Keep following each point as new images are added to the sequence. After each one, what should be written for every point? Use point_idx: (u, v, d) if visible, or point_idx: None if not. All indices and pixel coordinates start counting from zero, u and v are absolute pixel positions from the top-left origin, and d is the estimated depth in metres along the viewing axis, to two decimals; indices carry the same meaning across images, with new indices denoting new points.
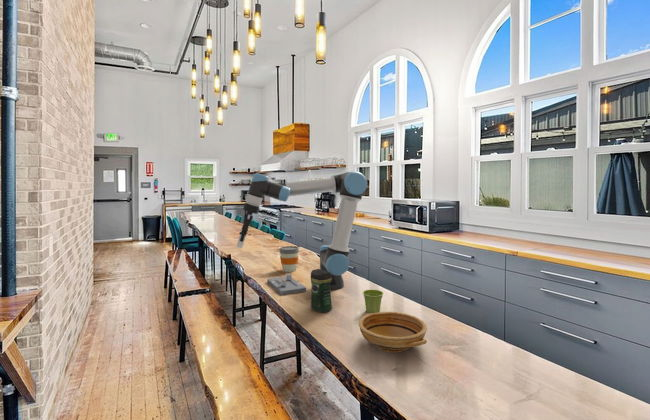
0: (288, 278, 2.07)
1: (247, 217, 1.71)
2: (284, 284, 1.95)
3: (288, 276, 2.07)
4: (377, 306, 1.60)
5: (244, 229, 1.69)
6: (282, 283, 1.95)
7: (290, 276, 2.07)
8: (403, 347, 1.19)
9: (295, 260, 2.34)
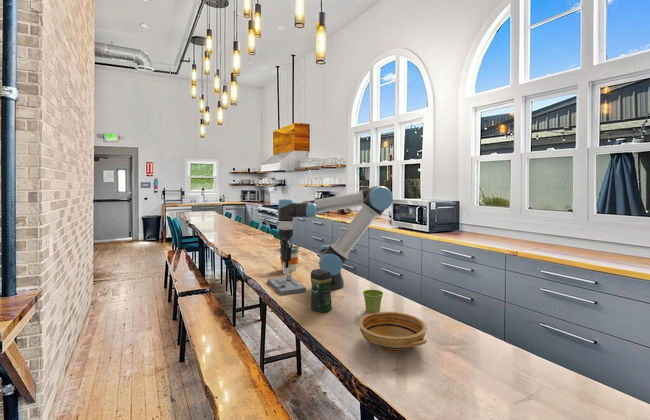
0: (288, 278, 2.07)
1: (288, 247, 1.82)
2: (284, 284, 1.95)
3: (288, 276, 2.07)
4: (377, 306, 1.60)
5: (288, 257, 1.84)
6: (282, 283, 1.95)
7: (290, 276, 2.07)
8: (403, 347, 1.19)
9: (295, 260, 2.34)
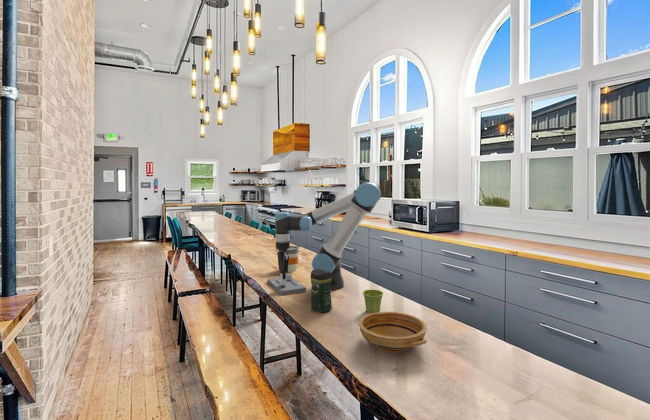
0: (288, 278, 2.07)
1: (285, 259, 1.88)
2: None
3: (288, 276, 2.07)
4: (377, 306, 1.60)
5: (285, 269, 1.90)
6: None
7: (290, 276, 2.07)
8: (403, 347, 1.19)
9: (295, 260, 2.34)
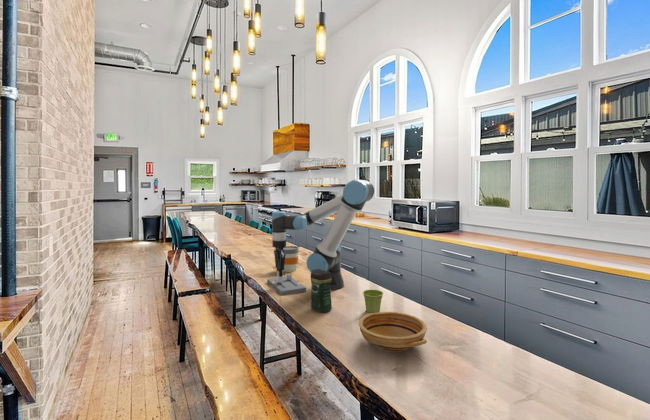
0: (288, 278, 2.07)
1: (282, 257, 1.93)
2: None
3: (288, 276, 2.07)
4: (377, 306, 1.60)
5: (281, 267, 1.95)
6: None
7: (290, 276, 2.07)
8: (403, 347, 1.19)
9: (295, 260, 2.34)
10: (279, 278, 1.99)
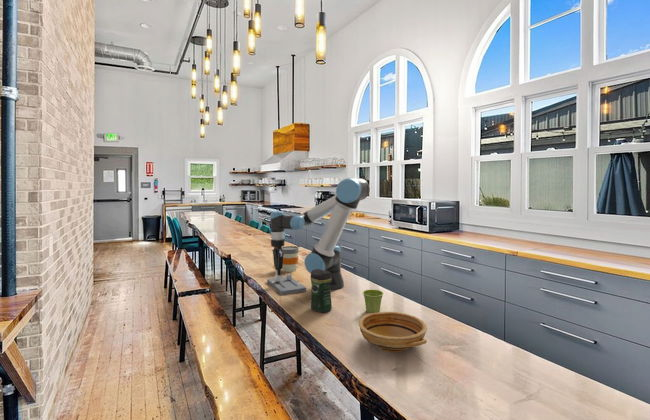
0: (288, 278, 2.07)
1: (280, 256, 1.96)
2: None
3: (288, 276, 2.07)
4: (377, 306, 1.60)
5: (280, 266, 1.98)
6: None
7: (290, 276, 2.07)
8: (403, 347, 1.19)
9: (295, 260, 2.34)
10: (277, 277, 2.01)
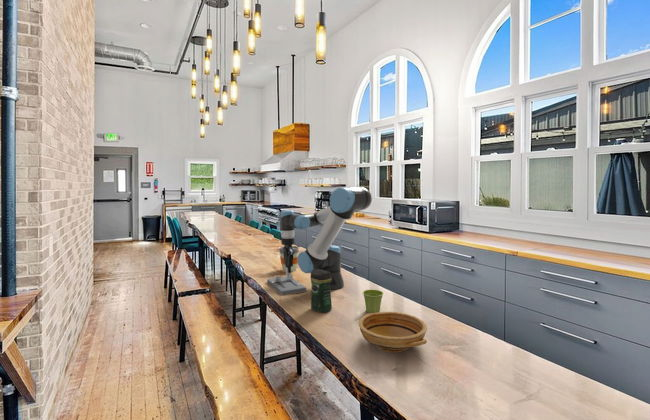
0: (289, 279, 2.05)
1: (290, 254, 2.02)
2: (279, 280, 2.03)
3: (289, 277, 2.05)
4: (377, 306, 1.60)
5: (290, 263, 2.04)
6: (277, 279, 2.03)
7: (291, 277, 2.06)
8: (403, 347, 1.19)
9: (295, 260, 2.34)
10: None
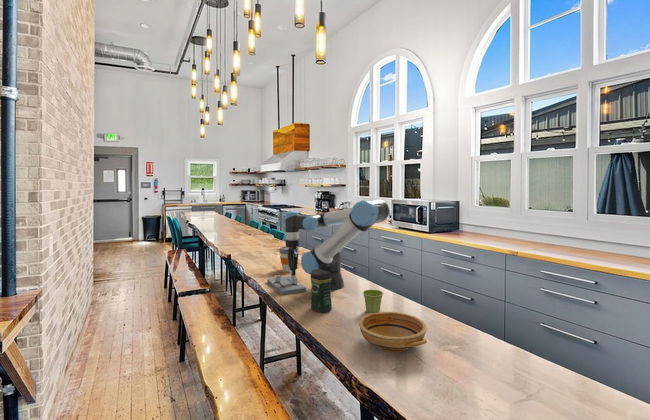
0: (293, 282, 1.99)
1: (295, 256, 1.95)
2: (279, 280, 2.03)
3: (293, 280, 1.99)
4: (377, 306, 1.60)
5: (294, 266, 1.97)
6: (277, 279, 2.03)
7: (296, 280, 1.99)
8: (403, 347, 1.19)
9: None
10: (292, 277, 2.00)
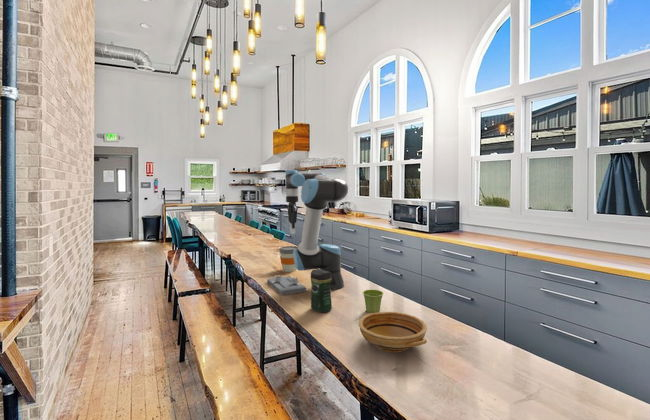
0: (294, 282, 1.98)
1: (294, 210, 2.17)
2: (279, 280, 2.03)
3: (294, 280, 1.98)
4: (377, 306, 1.60)
5: (294, 219, 2.19)
6: (277, 279, 2.03)
7: (296, 280, 1.99)
8: (403, 347, 1.19)
9: None
10: (292, 230, 2.23)
